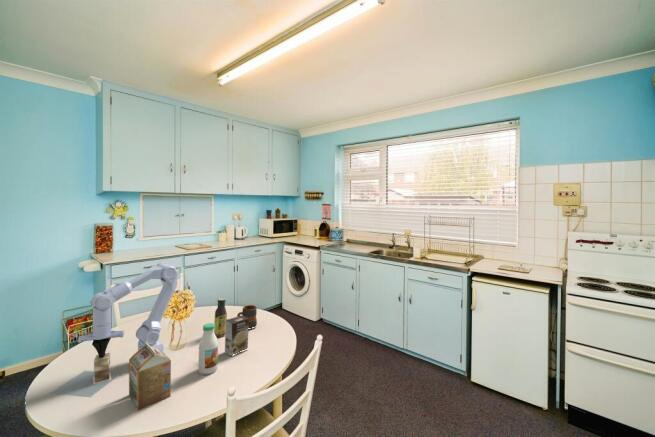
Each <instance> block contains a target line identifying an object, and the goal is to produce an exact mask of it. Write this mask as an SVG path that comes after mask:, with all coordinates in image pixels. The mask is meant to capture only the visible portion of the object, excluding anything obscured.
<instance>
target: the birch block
mask: <svg viewBox="0 0 655 437" xmlns="http://www.w3.org/2000/svg"><path fill="white" fill-rule="evenodd" d="M110 366H111V353H110V352H107V353H106V352H105V356H104V357H103V358H99V355H98V354H96V355H95V358H94V360H93V371H94V372H96V371H101V370H106V369H109V370H110Z"/></svg>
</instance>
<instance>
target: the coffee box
mask: <svg viewBox="0 0 655 437" xmlns="http://www.w3.org/2000/svg"><path fill="white" fill-rule="evenodd" d="M248 328H249V318H247V317H245V316H243V315H240V316H238V317H237V316H235V317H232V318H231V317H230V318H227V320H226V333H225V335H224V337H225V340H224V341H225V342H224V352H227V353H228V354H227V353H226V354H227V355H229V354H231V355H233V354H236V353H238V352H240V351H242V350H245V349H247V348H248V349H249V330H248Z"/></svg>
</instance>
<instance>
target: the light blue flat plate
mask: <svg viewBox="0 0 655 437" xmlns="http://www.w3.org/2000/svg"><path fill="white" fill-rule="evenodd" d="M120 375H121V373H115V372H109V379H108V380H104V381H101V382H97V383H95V372H94V370H84V371H82V372H80V373H79V374H77V375H76V376H75V377H73V378H71V379H70V380H68V381H67V382H65V383H63V384H62V385H60V386H59V387H57V388H55V389H54V390H52V391H51V392H50V394H54V395H64V396H72V397H73V396H76V397H86V398H91V397H93V396H94V395H96V394H97V393H98V392H100V391H101V390H102V389H104V388H105V387H106V386H107V385H109V384H110V383H111V382H113V381H114V380H115V379H116V378H118V377H119V376H120Z"/></svg>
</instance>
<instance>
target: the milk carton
mask: <svg viewBox="0 0 655 437" xmlns="http://www.w3.org/2000/svg"><path fill="white" fill-rule="evenodd" d="M128 361H129V362H128V396H129V397H130V400H131V402H132V404H133V405H134V407H135V409H136V410H137V411H142V410H143V409H145V408H148V407H150V406H153V405H154V404H157V403H159V402H161V401H163V400H166V399H168V398H170V397H171V393H172V392H171V388H172V387H171V383H172V382H171V381H172V380H171V379H172V376H171V375H172V374H171V372H172V360H171V358H170V357H169V356H167V355H166V354H165V352H164V351H163V352H162V351H161V350H160V349H158V348H156V347H153V346H149V345H148V344H147V342H145V346H144V347H142V348H141V349H140V350H139V351H138V350H137V351H136V352H135V353H134V354H133V355H132V356H131V357H129V359H128Z"/></svg>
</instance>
